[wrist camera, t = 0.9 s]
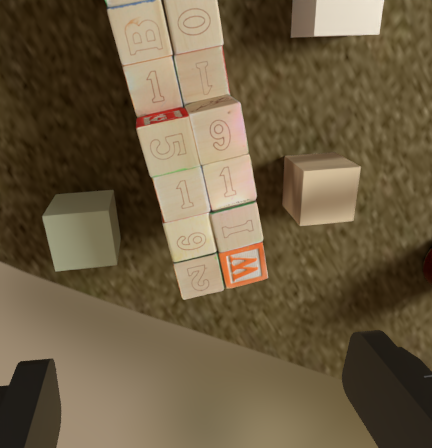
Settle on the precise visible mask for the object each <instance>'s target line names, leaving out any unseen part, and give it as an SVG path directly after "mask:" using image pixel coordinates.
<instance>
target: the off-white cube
mask: <svg viewBox="0 0 432 448" xmlns="http://www.w3.org/2000/svg"><path fill="white" fill-rule="evenodd" d="M383 3H384V0H293V3H292V22H291V38H292V37H328V36H356V35H377V34H379V32H380V24H381V17H382V10H383Z"/></svg>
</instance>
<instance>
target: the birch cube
mask: <svg viewBox="0 0 432 448" xmlns="http://www.w3.org/2000/svg"><path fill="white" fill-rule="evenodd" d="M360 168H361V167H360V166H358V165H357V164H355V163H353V162H351V161H349V160H348V159H346V158H344V157H342V156H341V155H339V154H337V153H335V152H333V153H319V154H305V155H291V156H285V160H284V180H283V200H282V206H283V207H284V208H285V209H286V210H287V211H288V213H289V214H290V215H291V216H292V217H293V218H294V220H295V221H296V222H297V223H298V224H299V226H305V225H315V224H326V223H336V222H346V221H353V219H354V212H355V204H356V197H357V190H358V183H359V176H360Z"/></svg>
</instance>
